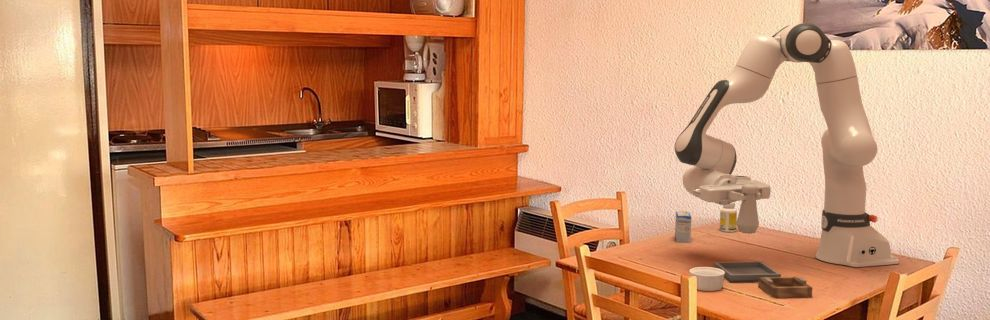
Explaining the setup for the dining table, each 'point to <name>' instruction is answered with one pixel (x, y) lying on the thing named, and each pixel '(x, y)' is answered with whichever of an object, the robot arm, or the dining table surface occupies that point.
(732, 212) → the supplement bottle
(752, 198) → the salt shaker
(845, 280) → the dining table surface
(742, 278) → the tray
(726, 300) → the dining table surface
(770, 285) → the tray
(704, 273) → the ramekin
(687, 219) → the medicine box
